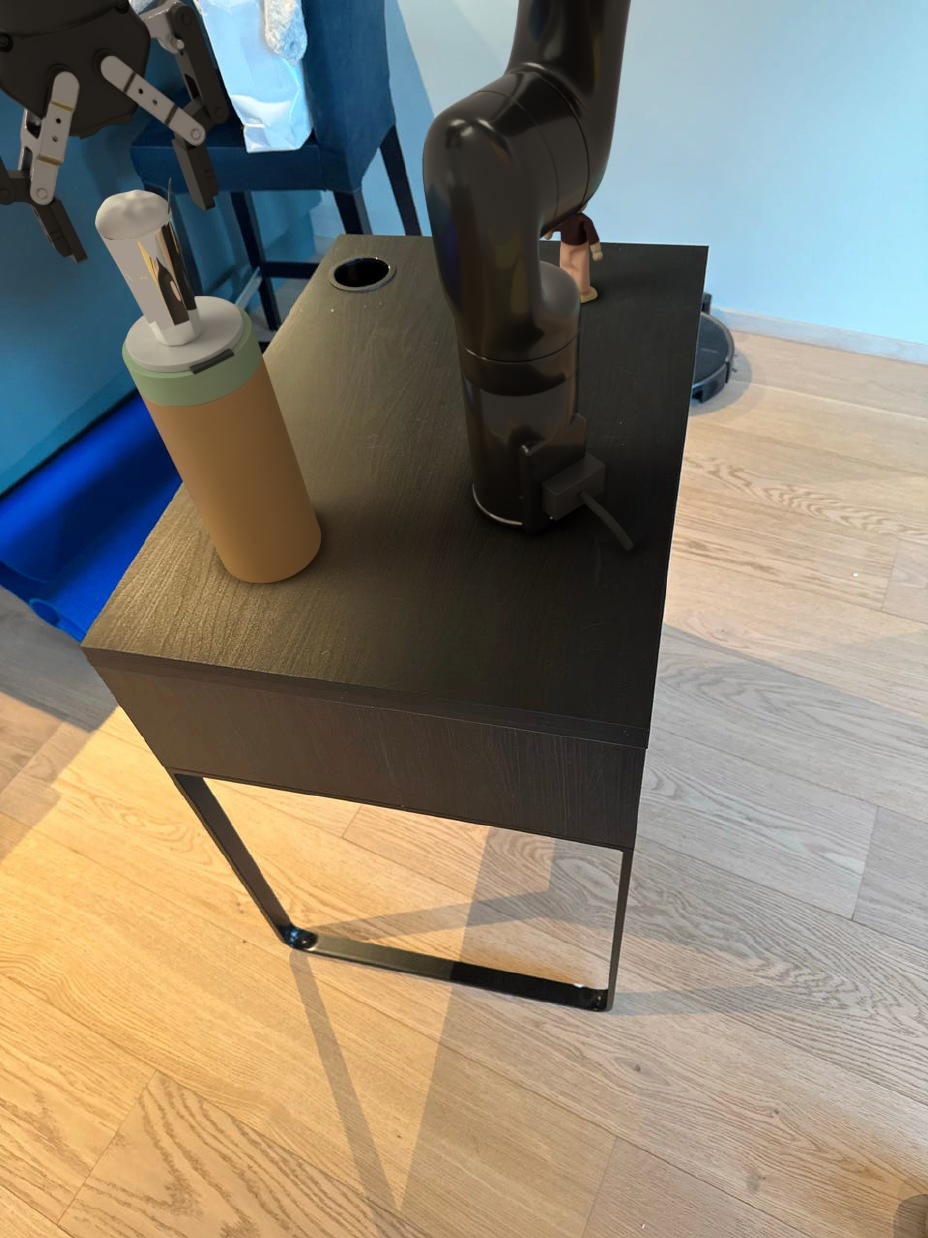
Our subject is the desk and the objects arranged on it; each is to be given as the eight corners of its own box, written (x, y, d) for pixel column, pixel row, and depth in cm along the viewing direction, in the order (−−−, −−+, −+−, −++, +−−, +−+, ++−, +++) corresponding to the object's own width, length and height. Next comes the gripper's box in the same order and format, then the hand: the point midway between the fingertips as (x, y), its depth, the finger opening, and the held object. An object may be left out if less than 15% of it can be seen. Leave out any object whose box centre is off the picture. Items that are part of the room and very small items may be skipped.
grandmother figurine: (611, 291, 94) (618, 174, 83) (596, 309, 92) (600, 192, 82) (551, 275, 96) (550, 161, 86) (534, 293, 95) (531, 178, 85)
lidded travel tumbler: (204, 541, 76) (98, 328, 58) (290, 494, 78) (213, 276, 61) (250, 600, 71) (149, 388, 54) (340, 548, 74) (272, 329, 56)
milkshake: (218, 349, 55) (161, 198, 47) (140, 354, 56) (70, 206, 48) (231, 309, 58) (179, 160, 50) (156, 315, 59) (93, 168, 51)
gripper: (-133, -51, 35) (55, 302, 48) (177, -136, 39) (272, 209, 52) (-168, -81, 39) (13, 252, 52) (117, -156, 43) (219, 169, 56)
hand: (143, 230), depth 52 cm, fingers open, 8 cm apart
